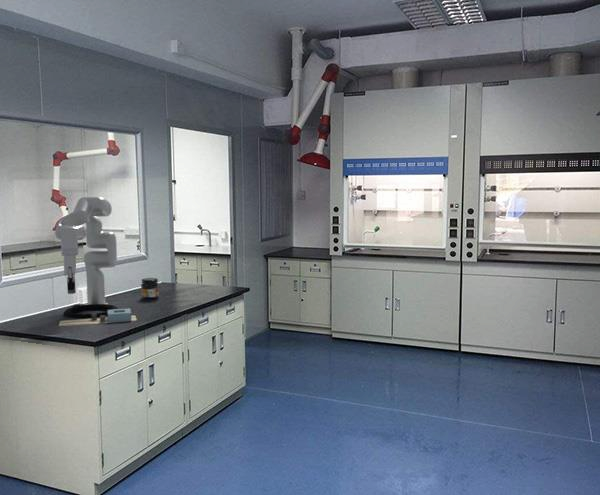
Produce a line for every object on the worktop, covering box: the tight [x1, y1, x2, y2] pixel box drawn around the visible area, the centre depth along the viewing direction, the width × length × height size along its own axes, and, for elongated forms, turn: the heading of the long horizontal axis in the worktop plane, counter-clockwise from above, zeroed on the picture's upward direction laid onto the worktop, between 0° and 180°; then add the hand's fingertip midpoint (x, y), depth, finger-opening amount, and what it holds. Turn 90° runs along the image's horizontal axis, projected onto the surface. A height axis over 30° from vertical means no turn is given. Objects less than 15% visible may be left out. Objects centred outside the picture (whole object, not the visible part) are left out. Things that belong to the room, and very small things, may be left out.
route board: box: [58, 312, 137, 327], centre depth 276 cm, size 12×36×4 cm, turn 110°
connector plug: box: [66, 275, 76, 295], centre depth 271 cm, size 4×4×8 cm
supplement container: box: [140, 277, 160, 301], centre depth 339 cm, size 10×10×12 cm
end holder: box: [107, 308, 133, 323], centre depth 280 cm, size 11×11×4 cm
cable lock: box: [63, 303, 119, 319], centre depth 295 cm, size 28×4×30 cm
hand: (71, 288), depth 271 cm, fingers closed on connector plug, 3 cm apart
